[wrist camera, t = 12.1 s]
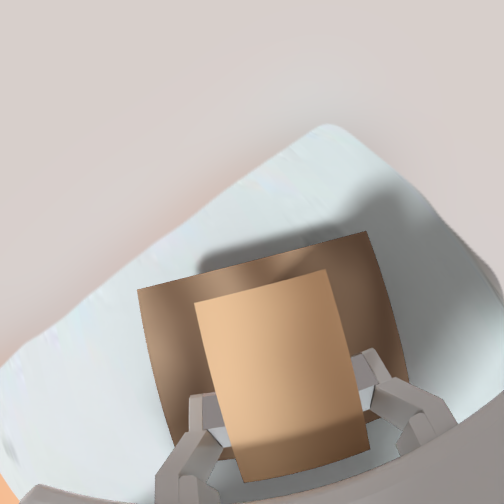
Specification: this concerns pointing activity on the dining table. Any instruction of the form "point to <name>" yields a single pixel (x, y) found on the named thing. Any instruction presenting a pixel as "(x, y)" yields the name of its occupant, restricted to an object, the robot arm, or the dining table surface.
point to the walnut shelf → (252, 276)
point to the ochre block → (283, 376)
